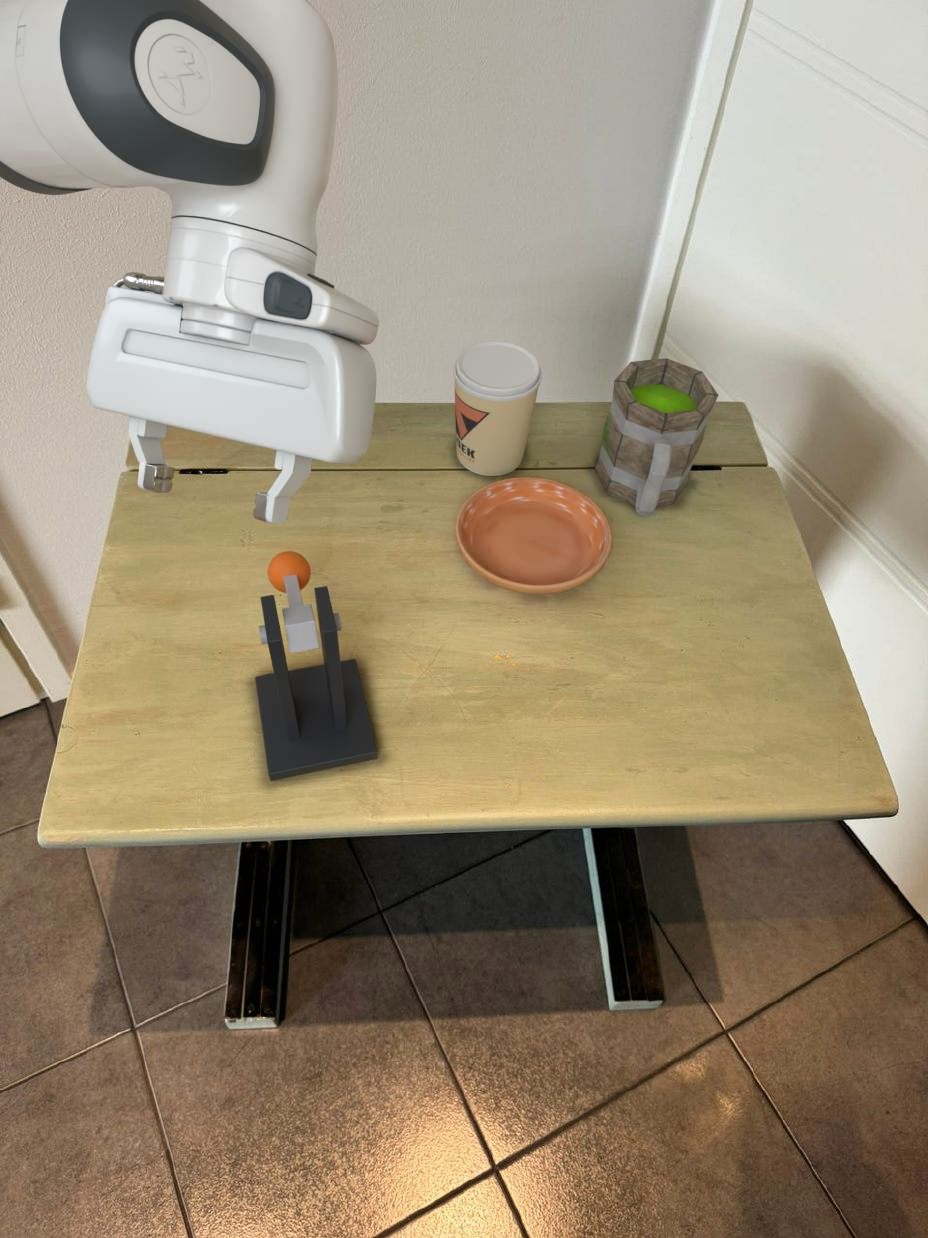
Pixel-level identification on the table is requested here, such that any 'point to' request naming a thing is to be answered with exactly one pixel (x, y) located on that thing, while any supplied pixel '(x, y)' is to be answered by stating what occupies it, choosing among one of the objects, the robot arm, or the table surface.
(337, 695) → the switch base
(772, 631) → the table surface
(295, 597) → the lever
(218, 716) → the table surface
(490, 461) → the coffee cup
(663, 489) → the mug
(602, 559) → the saucer
